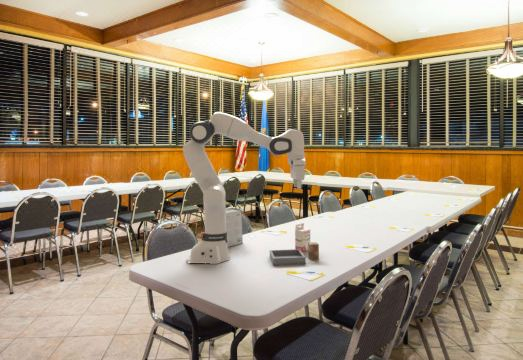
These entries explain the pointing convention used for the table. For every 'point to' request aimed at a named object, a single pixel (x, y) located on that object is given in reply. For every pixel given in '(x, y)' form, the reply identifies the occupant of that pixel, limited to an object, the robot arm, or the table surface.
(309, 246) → the walnut block
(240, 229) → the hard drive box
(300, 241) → the ink cartridge box
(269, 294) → the table surface
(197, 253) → the robot arm
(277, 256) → the sorting tray
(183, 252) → the table surface
